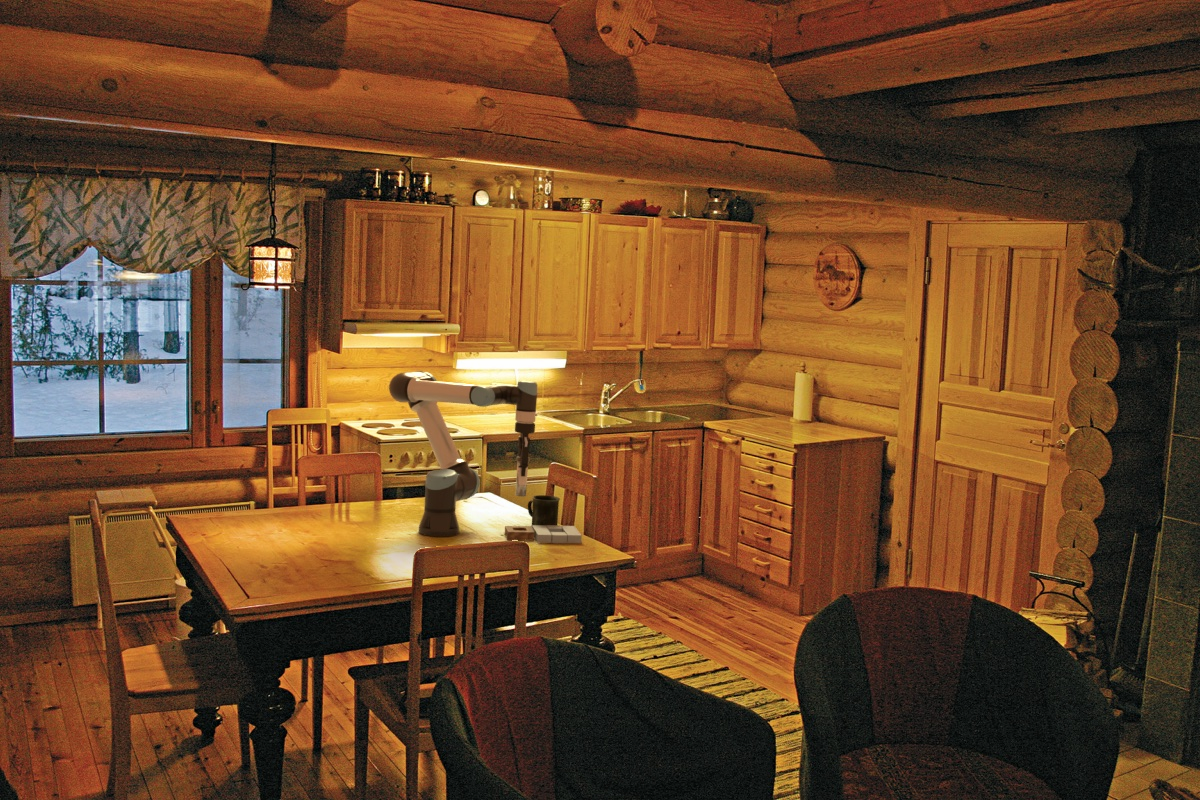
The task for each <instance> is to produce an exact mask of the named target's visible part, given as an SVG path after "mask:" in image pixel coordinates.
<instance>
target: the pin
mask: <svg viewBox="0 0 1200 800" xmlns="http://www.w3.org/2000/svg"><path fill="white" fill-rule="evenodd" d="M530 459H531V458H530V456H528V462H530V461H531V460H530ZM515 460H516V461H517V465H516V479H515V494H514V495H515V496H516V497H527V486H528V485H527V484H528V473H529V472H528V470H529V468H528V467H529V466H528V467H527V474H526V485H519V484H518V483H519V468H518V466H520V460H521V456H518V455H517V456H516V459H515Z"/></svg>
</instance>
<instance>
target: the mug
mask: <svg viewBox="0 0 1200 800" xmlns="http://www.w3.org/2000/svg"><path fill="white" fill-rule="evenodd" d="M560 500H561V499H560V497H559V496H554V495H546V494H545V495H544V494H543V495H542V494H541V495H540V494H539V495H533V496H532V497H531V500H529V501H528V502H527V511H528V515H529V517H531V526H532V525H558V522H559V521H558V520H559V507H560V503H559V502H560Z"/></svg>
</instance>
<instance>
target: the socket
mask: <svg viewBox="0 0 1200 800" xmlns="http://www.w3.org/2000/svg"><path fill="white" fill-rule="evenodd" d="M531 527H532V529H533V531H534V540H535V541H536V543H538V544H539V543H540V544H541V543H543V544H544V543H545V544H548V543H549V544H582V534H581V532H580V531H579V530H578V529H577V528H576V526H575V525H558V524H557V525H532V524H531Z"/></svg>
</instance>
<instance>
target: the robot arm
mask: <svg viewBox="0 0 1200 800" xmlns="http://www.w3.org/2000/svg"><path fill="white" fill-rule="evenodd" d="M388 392H389V394H390V396H391V397H392V398H393V399H394V400H395V401H397V402H399V403H403V404H405V403H406V404H407V403H408V406H409V408H410V410H411V411H412V412H415V413H416V414H417V417H418V418H419V421H420V423H421V427H422V429H423V430H424V433H425V435H426V438H427V440H428V442H429V444H430V446H431V449H432V452H433V454H434V456H435V458H436V460H437V462H438V465H439V468H440V469H434V470H430V471H429V472H428V473H427V474H426V477H425V482H424V485H425V486H424V488H425V490H424V508H423V509H424V512H423V514H422V518H421V520H420V523H419V525H418V533H419V534H421V535H424V536H429V537H435V538H436V537H437V538H438V537H443V538H445V537H454V536H457V535H459V534H460V525H459V522H458V518H457V513H456V508H457V507H456V506H457V505H456V504H457V502H460V501H465V500H468V499H470V498H472V497H474V496H475V495H476V494H477V492H478V491H479V489H480V484H481V481H480V477H479V474H478V472H477V470H474V469H473V468H471V467H469V464H468V462H467V461H466V460H465V459H462V458H461V456H460V454H459V451H458V449H457V446H456V444H455V441H454V440H453V438H452V435H451V433H450V431H449V429H448V426H447V424H446V422H445V419H444V417H443V415H442V412H441V411H440V408H439V405H438V402H440V403H449V404H450V403H451V404H463V405H471V406H472V405H474V406H477V407H482V408H483V407H485V408H486V407H490V406H498V405H512V406H515V419H514V420H515V423H514V432H515V433H517V434H520V435H519V436H518V439H517V440H518V450H517V456H521V460H520V466H518V468H519V483H518V484H519V485H526V474H527V475H528V472H527V467H529V461H528V457H530V456H529V455H530V452H529V451H530V445H531V438H530V436H529V435H530V434H534V433H535V432H536V423H535V422H536V417H537V416H538V413H537V404H538V403H537V401H538V400H537V399H538V394H539V393H538V384H537V382H536V381H534V380H532V381H531V380H519V381H518V382H517V385H516V384H507V383H502V382H492V383H490V384H489V385H485V384H472V383H471V384H470V383H458V382H446V381H437V379H436V378H435V376H434V375H433V374H431V373H430V372H427V371H419V370H417V371H408V372H399V373H397V374H396V375H394V376H393V377H392V378H391V380H390V382H389V385H388Z"/></svg>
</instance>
